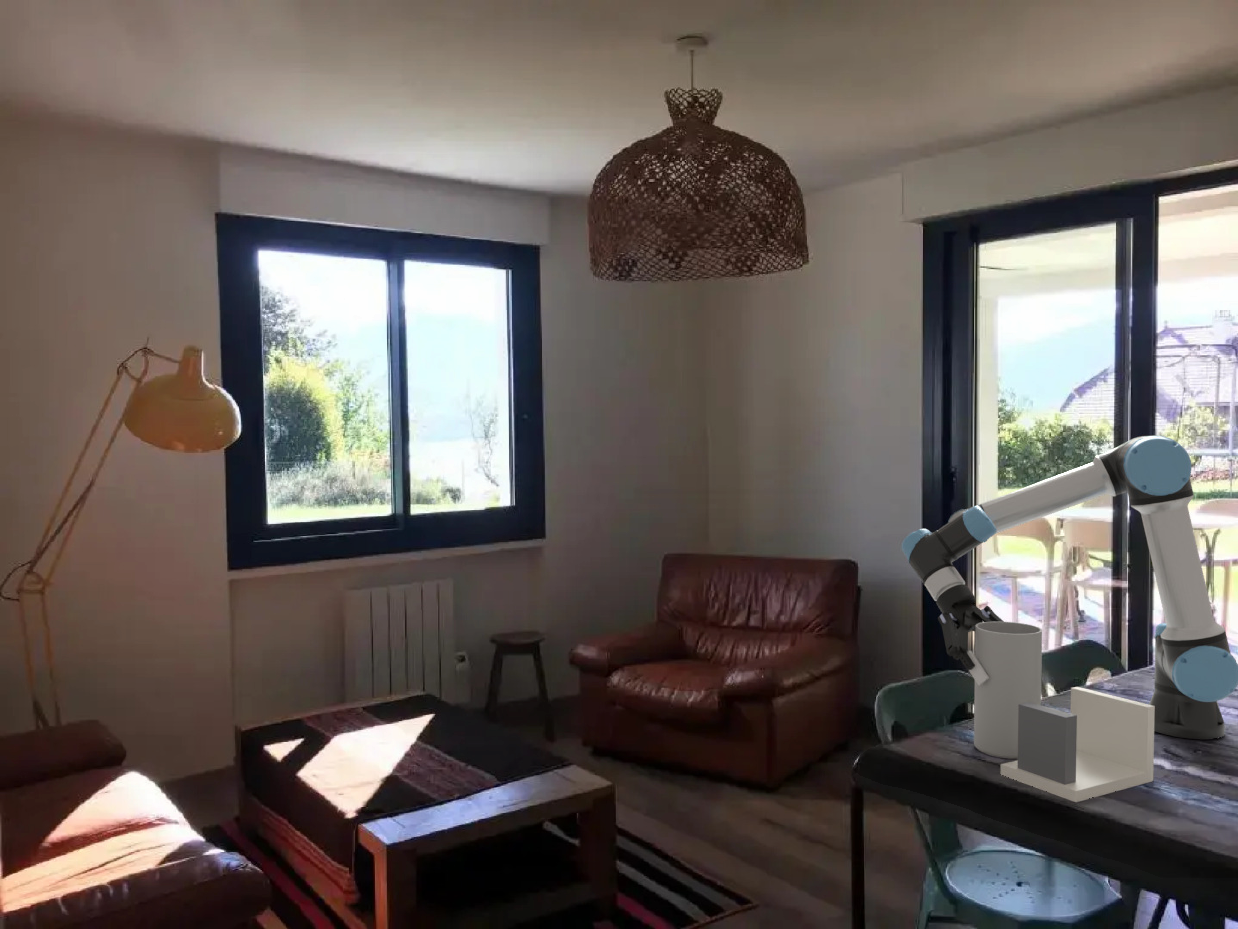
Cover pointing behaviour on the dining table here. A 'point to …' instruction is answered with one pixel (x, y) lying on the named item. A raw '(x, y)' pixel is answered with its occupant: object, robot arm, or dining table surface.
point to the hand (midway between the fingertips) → (1007, 678)
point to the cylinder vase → (1005, 683)
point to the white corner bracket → (1084, 746)
